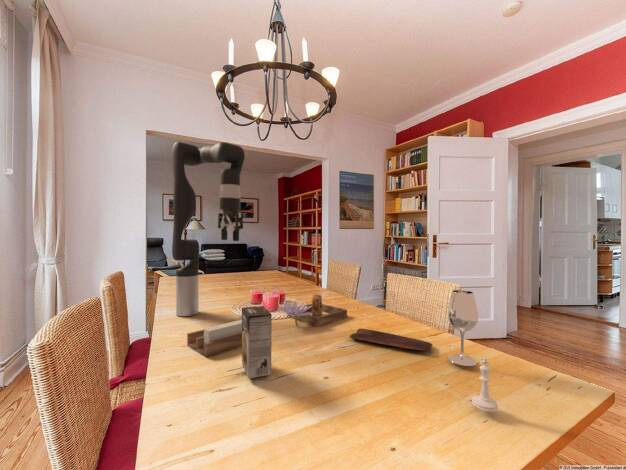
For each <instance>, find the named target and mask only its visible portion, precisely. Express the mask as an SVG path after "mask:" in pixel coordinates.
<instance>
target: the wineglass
mask: <svg viewBox="0 0 626 470" xmlns="http://www.w3.org/2000/svg"><path fill="white" fill-rule="evenodd" d="M475 298H476V297H475V294H474V291H471V290H464V289H454V290H451V294H450V297H449V303H448V308H447V319H448V322H449V323H450V325H451V326H452V327H453V329H455V330H457V331H459V333H460V354H459V353H457V354H450V355H448V356H447V358H448V360H449V361H450V362H451V363H453V364H455V365H459V366H462V367H463V366H464V367H474V366H476V365H478V361H477V360H476V359H475V358H473V357H471V356H469V355H465V352H464V351H465V350H464V348H465V347H464V346H465V345H464V344H465V333H466V332H469V331H471V330H472V329H474V328H475V327H476V326H477V323H478V321H479V320H478V319H479V314H478V308H477V307H478V306H477V302H476V299H475Z"/></svg>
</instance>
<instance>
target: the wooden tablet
mask: <svg viewBox="0 0 626 470" xmlns="http://www.w3.org/2000/svg"><path fill="white" fill-rule="evenodd" d="M349 338H350V339H354V340H358V341H363V342H368V343H375V344H379V345H380V344H381V345H385V346H389V347H390V346H391V347H396V348H403V349H408V350H416V351H426V352H427V351H430V350H432V348H433V343H432V342H429V341H425V340H423V339H422V340H421V339H417V338H412V337H408V336H404V335H400V334H399V335H398V334H394V333H390V332H383V331H378V330H373V329H366V328H358V329H357V330H356V332H353V333H351V334H350V335H349Z"/></svg>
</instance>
